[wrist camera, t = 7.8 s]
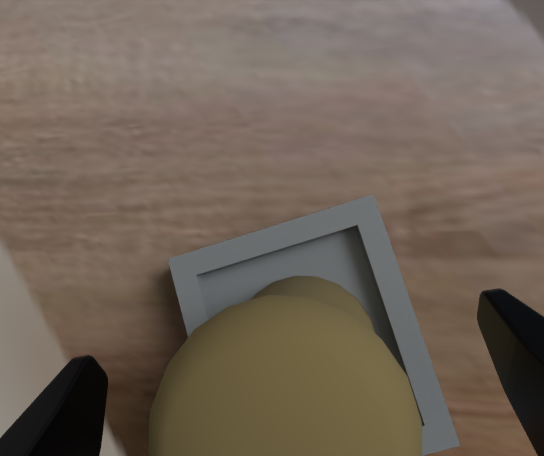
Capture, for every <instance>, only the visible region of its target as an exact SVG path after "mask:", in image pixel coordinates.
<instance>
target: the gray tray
mask: <svg viewBox="0 0 544 456" xmlns="http://www.w3.org/2000/svg"><path fill="white" fill-rule="evenodd" d="M168 262H169V266H170V270H171V274H172V277H173V281H174V285H175V289H176V293H177V297H178V300H179V304H180V308H181V312H182V316H183V320H184V324H185V327H186V331H187V335H188V337H189V336H190V335H191V333H192V332H193V331H194V329H196V328H197V327H199V326H200V325H202V324H203V323H205V322H206V321H208V320H209V319H210V318H212V317H213V316H215V315H216V314H218V313H219V312H221V311H222V310H224V309H225V308H227V307H228V306H232V305H235V304H239V303H243V302H246V301H250V300H251V299H252V298H253V297H254V295H255V294H256V293H258V292H259V291H261V290H262V289H264V288H265V287H267V286H268V285H270V284H271V283H273V282H275V281H278V280H282V279H285V278H289V277H292V276H317V277H320V278H323V279H326V280H328V281H331V282H334V283H337V284H339V285H340V286H342V287H343V288H344V289H345V290H347V291H348V292H349V293H351V294H352V295H353V296H355V297H356V298H357V299H358V300H359V302H360V303H361V305H362V306H363V308H364V309H365V311H366V312H367V313H368V315H369V316H370V318H371V321H372V324H373V327H374V330H375V334H376V335H377V336H379V337H380V338H381V339H382V340H383V342H384V343H385V345H386V346H387V348H388V349H389V351H390V352H391V353H392V355H393V356H394V358H395V359H396V361H397V362H398V364H399V365H400V366H401V368H402V369H403V371H404V372H405V374H406V375H407V377H408V379H409V382H410V386H411V389H412V392H413V395H414V398H415V401H416V404H417V408H418V411H419V414H420V417H421V420H422V456H423V455H427V454H431V453H435V452H439V451H442V450H446V449H450V448H454V447H458V446H460V443H459V440H458V437H457V434H456V432H455V429H454V426H453V423H452V420H451V417H450V414H449V411H448V408H447V406H446V403H445V400H444V397H443V394H442V391H441V388H440V385H439V382H438V379H437V377H436V374H435V371H434V368H433V365H432V362H431V359H430V356H429V353H428V350H427V348H426V345H425V342H424V339H423V336H422V333H421V330H420V327H419V324H418V321H417V319H416V316H415V313H414V310H413V307H412V304H411V301H410V298H409V295H408V292H407V290H406V287H405V284H404V281H403V278H402V275H401V272H400V269H399V266H398V263H397V261H396V258H395V255H394V252H393V249H392V246H391V243H390V240H389V237H388V235H387V232H386V229H385V226H384V223H383V220H382V217H381V214H380V211H379V208H378V206H377V203H376V200H375V197H374V194H373V195H370V196H366V197H363V198H360V199H357V200H354V201H351V202H347V203H344V204H341V205H338V206H335V207H332V208H328V209H325V210H322V211H319V212H316V213H313V214H309V215H306V216H303V217H300V218H297V219H294V220H290V221H287V222H284V223H281V224H278V225H275V226H271V227H268V228H265V229H262V230H259V231H256V232H252V233H249V234H246V235H243V236H240V237H237V238H233V239H230V240H227V241H224V242H221V243H218V244H214V245H211V246H208V247H205V248H202V249H198V250H195V251H192V252H189V253H186V254H183V255H179V256H176V257H173V258H170V259H168Z"/></svg>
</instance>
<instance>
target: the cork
mask: <svg viewBox="0 0 544 456" xmlns="http://www.w3.org/2000/svg"><path fill="white" fill-rule="evenodd" d="M147 456H422V420H421V417H420V414H419V411H418V408H417V404H416V401H415V398H414V395H413V392H412V389H411V386H410V382H409V379H408V377H407V375H406V374H405V372H404V371H403V369H402V368H401V366H400V365H399V364H398V362H397V361H396V359H395V358H394V356H393V355H392V353H391V352H390V351H389V349H388V348H387V346H386V345H385V343H384V342H383V340H382V339H381V338H380V337H379V336H377V335H376V334H375V330H374V327H373V324H372V321H371V318H370V316H369V315H368V313H367V312H366V311H365V309H364V308H363V306H362V305H361V303H360V302H359V300H358V299H357V298H356V297H355V296H353V295H352V294H351V293H349V292H348V291H347V290H345V289H344V288H343V287H342V286H340V285H339V284H337V283H334V282H331V281H328V280H326V279H323V278H320V277H317V276H292V277H289V278H285V279H282V280H278V281H275V282H273V283H271V284H270V285H268V286H267V287H265V288H264V289H262V290H261V291H259V292H258V293H256V294H255V295H254V297H253V298H252V299H251V300H250V301H246V302H243V303H239V304H235V305H232V306H228V307H227V308H225V309H224V310H222V311H221V312H219V313H218V314H216V315H215V316H213V317H212V318H210V319H209V320H208V321H206V322H205V323H203V324H202V325H200V326H199V327H197V328H196V329H194V331H193V332H192V333H191V335H190V336H189V337H188V338H187V340H186V341H185V342H184V344H183V345H182V346H181V347H180V349H179V350H178V351H177V353H176V354H175V355H174V356H173V358H172V359H171V360H170V362H169V364H168V366H167V368H166V370H165V372H164V375H163V377H162V380H161V383H160V385H159V388H158V391H157V393H156V396H155V399H154V402H153V404H152V407H151V410H150V419H149V434H148V449H147Z"/></svg>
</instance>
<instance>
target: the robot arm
mask: <svg viewBox="0 0 544 456" xmlns="http://www.w3.org/2000/svg"><path fill="white" fill-rule="evenodd" d="M477 320H478V324H479V327H480V330H481V333H482V335H483V338H484V340H485V343H486V345H487V348H488V351H489V353H490V356H491V358H492V361H493V364H494V366H495V369H496V371H497V374H498V376H499V379H500V381H501V384H502V386H503V389H504V391H505V393H506V395H507V397H508V399H509V401H510V403H511V405H512V407H513V409H514V411H515V413H516V415H517V417H518V419H519V420H520V422H521V424H522V426H523V428H524V430H525V432H526V434H527V436H528V438H529V440H530V442H531V443H532V445H533V447H534V449H535V451H536V453H537V455H538V456H544V317H543V316H542V315H540V314H539V313H537V312H536V311H535V310H533V309H532V308H530V307H529V306H527V305H526V304H524V303H523V302H521V301H520V300H518V299H517V298H515V297H514V296H512V295H511V294H509V293H508V292H506V291H505V290H503V289H492V290H486V291H482V292H481V294H480V298H479V305H478V312H477ZM107 388H108V378H107V375H106V373H105V371H104V370H103V369H102V368H101V366H100V365H99V364H98V362H97V361H96V360H95V359H94V357H92V356H90V355H86V356H80V357H75V358H73V359H72V360H70V361H69V363H68V364H67V365H66V366H65V367H64V368H63V369H62V370H61V371H60V372H59V374H58V375H57V376H56V377H55V378H54V379H53V380H52V382H50V384H49V385H48V386H47V387H46V388H45V389H44V390H43V391H42V392H41V394H40V395H39V396H38V397H37V398H36V399H35V400H34V401H33V403H31V405H30V406H29V407H28V408H27V409H26V410H25V411H24V412H23V413H22V415H21V416H20V417H19V418H18V419H17V420H16V421H15V422H14V423H13V425H12V426H11V427H10V428H9V429H8V430H7V431H6V432H5V433H4V434H3V436H2V437H1V438H0V456H99V454H100V449H101V442H102V435H103V425H104V416H105V407H106V398H107Z"/></svg>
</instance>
